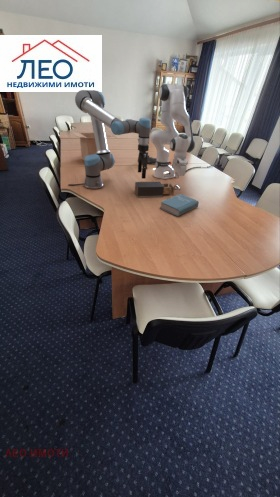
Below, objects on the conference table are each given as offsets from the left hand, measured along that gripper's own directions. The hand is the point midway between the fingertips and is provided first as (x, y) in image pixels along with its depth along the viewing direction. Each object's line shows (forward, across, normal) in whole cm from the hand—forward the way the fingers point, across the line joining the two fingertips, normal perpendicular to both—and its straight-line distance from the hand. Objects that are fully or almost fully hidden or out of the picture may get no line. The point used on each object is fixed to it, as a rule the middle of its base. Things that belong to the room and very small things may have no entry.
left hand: (141, 175), depth 164 cm
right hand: (+2, 0, +28) cm, 28 cm away
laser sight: (+15, -83, +27) cm, 89 cm away
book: (+15, +26, +23) cm, 38 cm away
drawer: (+14, 0, +19) cm, 24 cm away
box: (+15, -91, -32) cm, 97 cm away
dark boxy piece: (+15, 0, +7) cm, 16 cm away
